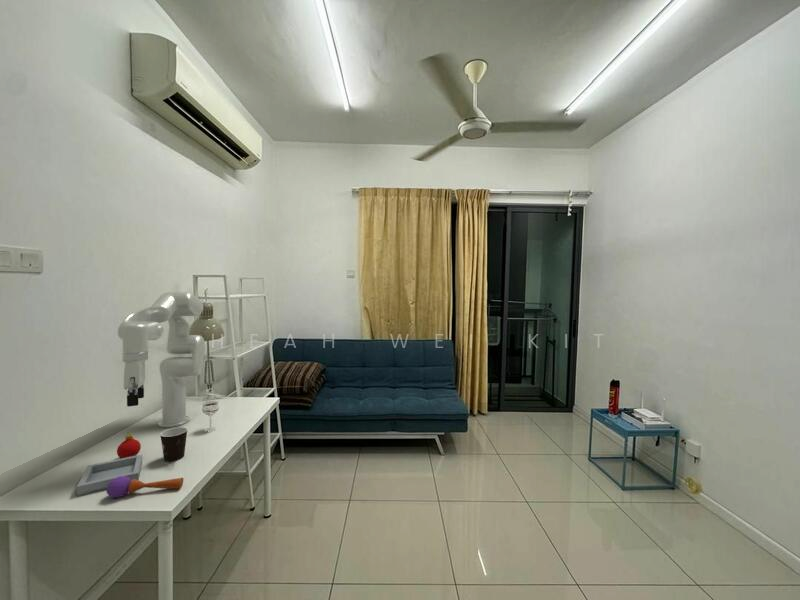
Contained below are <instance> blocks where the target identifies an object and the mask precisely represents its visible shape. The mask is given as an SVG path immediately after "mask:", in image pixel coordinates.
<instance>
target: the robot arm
mask: <svg viewBox="0 0 800 600" xmlns="http://www.w3.org/2000/svg"><path fill="white" fill-rule="evenodd" d="M203 312H204V304H203V301H202V300H201V299H200V298H198V297H197V296H196V295H195V294H193V293H192V292H185V291H183V292H182V291H181V292H178V291H177V292H176V291H174V292H173V291H170V292H169V291H168V292H164V293H162V294H161V295H160V296H159V297H158V298H157V299H156V300H155V301H154V302H153V304H152V305H151V306H148V307H146V308H143V309H141V310H137V311H135V312H132V313H130V314H129V315H127V316H126V317H125V318H124V320H123V321H121V323H120V324H119V326H118V329H117V335H118V337H119V338H120V340H122V363H124V369H123V370H124V371H123V389H124V390H127V393H126V407H128V408H129V407H137V406H138V405H139V399H143V398H144V397H145V387H144V383H145V381H146V363H145V362H146V361H148V360H149V341H157V340H159V339H160V338H161V337H162V336H163V334H164V332H165V331H164V330H165V329H164V326H163V325H162V324H161V323H164V322H168V325H169V328H168V335H167V342H166V352H167V353H168V354H169V355H172V357H167V358H163V360H161V362H160V363H159V373H160V378H161V393H162V394H161V397H162V398H161V404H162V405H161V410H162V411H161V420H159V421H158V423H157V424H158V427H160V428H176V427H179V426H183V425H185V424H186V423H188V422H190V418H191V417H190V416H188V415H187V385H186V382H185V381H184V379H183V378H189V377H198V376H199V375H201V373H202V371H203V367H204V366H203V365H204V355H205V347H206V344H205V340H204V337H203V336H202V335H200V334H199V335H198V334H190V329H191V328H190V324H189V322H188V321H187V320H186V319H185V317H198V316H201V315H202V314H203ZM173 355H175V356H173ZM176 355H177V356H176ZM179 355H180V356H179ZM181 355H183V356H181ZM185 355H191V356H185Z"/></svg>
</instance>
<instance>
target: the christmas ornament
mask: <svg viewBox="0 0 800 600" xmlns="http://www.w3.org/2000/svg"><path fill="white" fill-rule="evenodd" d="M141 448H142V445H141V442H140V441H139V440H138V439H135V438H134V437H133V434H132V433H131V432H130V431H128V432H127V434H126V435H125V440H123V441H122V442H120V443H119V445H118V447H117V449H116V454H117V457H118V458H119V459H122V458H127V457H132V456H137V455H139V453H140V451H141Z"/></svg>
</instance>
